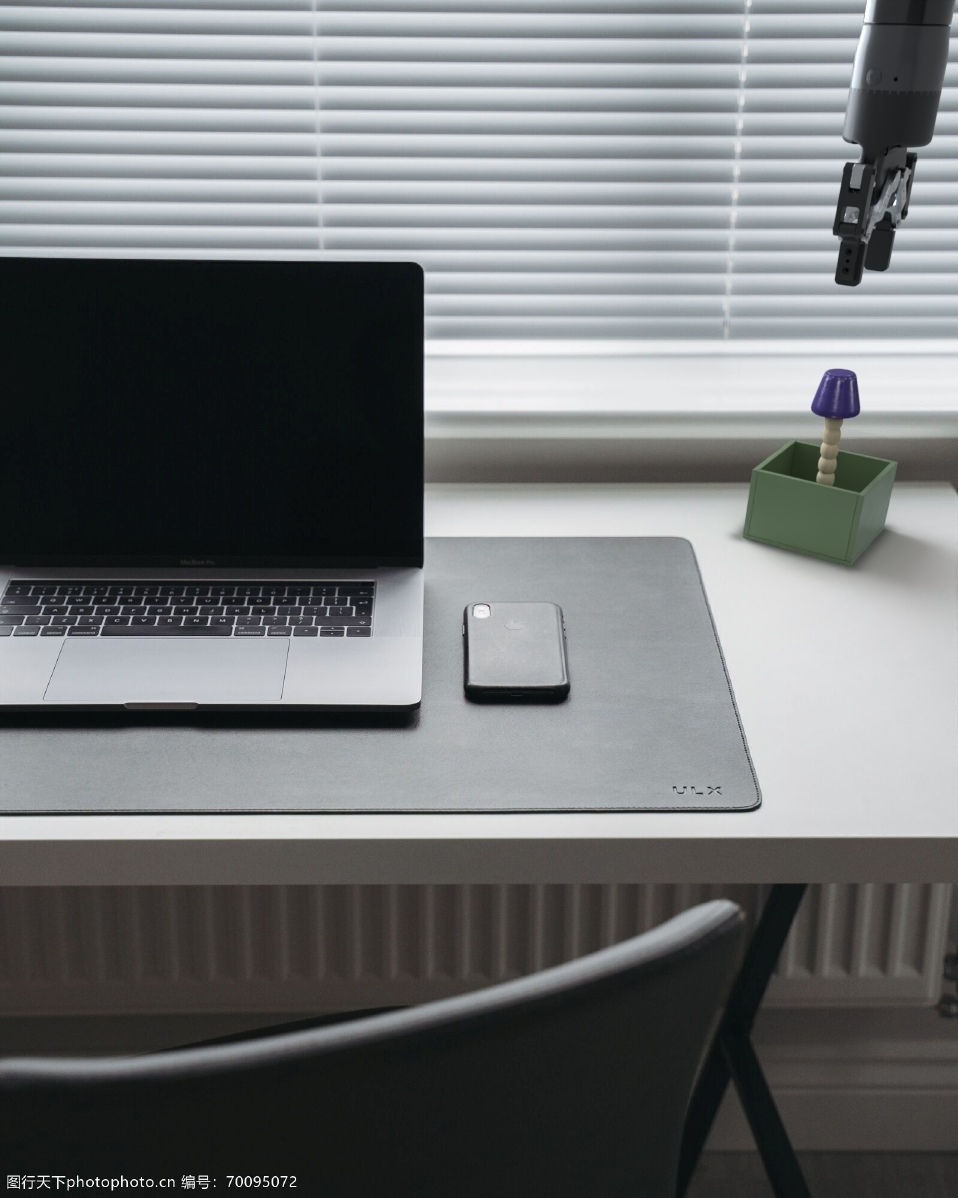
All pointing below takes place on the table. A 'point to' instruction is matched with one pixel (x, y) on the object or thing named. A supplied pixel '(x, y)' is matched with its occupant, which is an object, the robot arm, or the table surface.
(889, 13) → the robot arm
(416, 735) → the table surface
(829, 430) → the toy lamp
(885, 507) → the bin
